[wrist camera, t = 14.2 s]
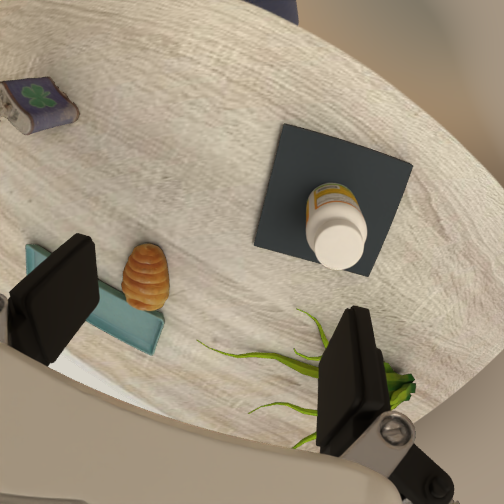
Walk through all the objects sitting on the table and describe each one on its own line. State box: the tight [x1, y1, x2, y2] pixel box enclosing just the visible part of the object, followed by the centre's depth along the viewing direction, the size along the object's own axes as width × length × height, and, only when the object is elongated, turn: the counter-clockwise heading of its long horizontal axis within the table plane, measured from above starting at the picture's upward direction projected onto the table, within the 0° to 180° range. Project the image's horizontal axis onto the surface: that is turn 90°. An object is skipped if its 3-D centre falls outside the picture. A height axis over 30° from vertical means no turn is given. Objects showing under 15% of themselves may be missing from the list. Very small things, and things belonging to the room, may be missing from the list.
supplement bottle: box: [306, 183, 367, 270], centre depth 29 cm, size 5×5×10 cm
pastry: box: [121, 243, 170, 311], centre depth 41 cm, size 9×7×4 cm
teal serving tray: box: [25, 244, 165, 356], centre depth 45 cm, size 26×9×2 cm, turn 66°
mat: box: [254, 123, 413, 277], centre depth 33 cm, size 14×14×1 cm
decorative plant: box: [197, 308, 416, 449], centre depth 38 cm, size 18×30×15 cm, turn 50°
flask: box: [0, 77, 80, 135], centre depth 28 cm, size 9×3×11 cm, turn 43°
